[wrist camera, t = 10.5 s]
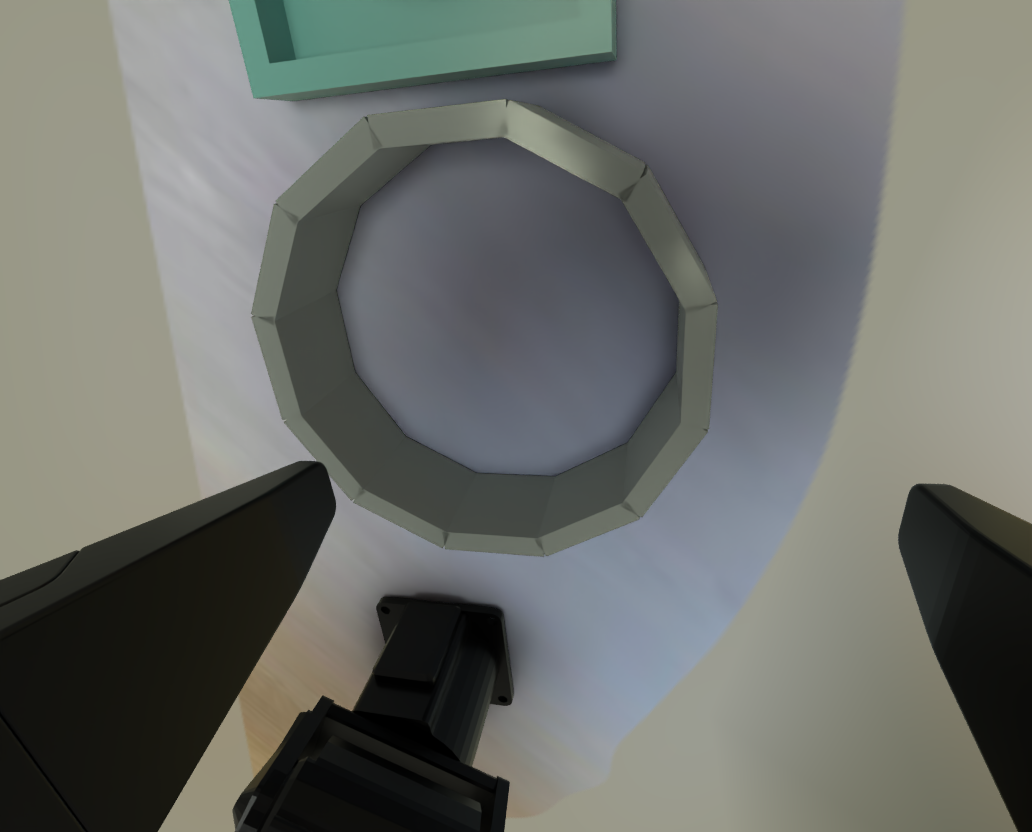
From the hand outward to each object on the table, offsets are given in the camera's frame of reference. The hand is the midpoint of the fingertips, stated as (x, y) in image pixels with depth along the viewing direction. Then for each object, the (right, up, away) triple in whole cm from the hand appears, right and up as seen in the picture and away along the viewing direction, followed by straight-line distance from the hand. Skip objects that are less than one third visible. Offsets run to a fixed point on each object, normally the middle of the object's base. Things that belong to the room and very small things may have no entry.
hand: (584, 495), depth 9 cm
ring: (-2, +4, +12) cm, 13 cm away
